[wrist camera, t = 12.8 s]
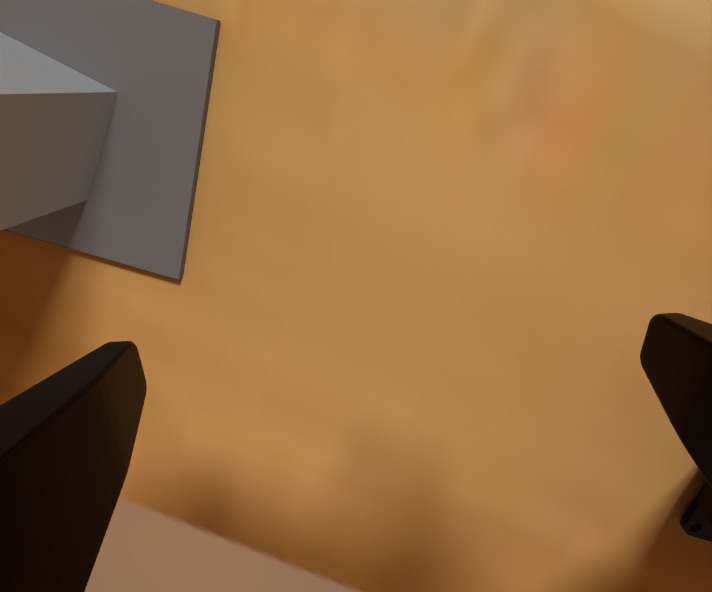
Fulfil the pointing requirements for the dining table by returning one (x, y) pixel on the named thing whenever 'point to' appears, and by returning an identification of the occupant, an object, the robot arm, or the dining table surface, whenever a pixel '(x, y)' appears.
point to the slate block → (46, 133)
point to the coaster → (129, 122)
